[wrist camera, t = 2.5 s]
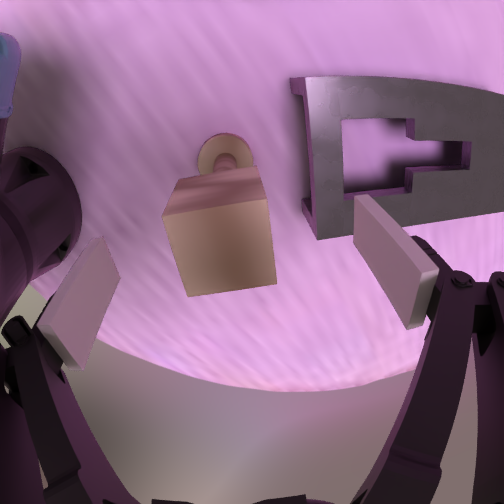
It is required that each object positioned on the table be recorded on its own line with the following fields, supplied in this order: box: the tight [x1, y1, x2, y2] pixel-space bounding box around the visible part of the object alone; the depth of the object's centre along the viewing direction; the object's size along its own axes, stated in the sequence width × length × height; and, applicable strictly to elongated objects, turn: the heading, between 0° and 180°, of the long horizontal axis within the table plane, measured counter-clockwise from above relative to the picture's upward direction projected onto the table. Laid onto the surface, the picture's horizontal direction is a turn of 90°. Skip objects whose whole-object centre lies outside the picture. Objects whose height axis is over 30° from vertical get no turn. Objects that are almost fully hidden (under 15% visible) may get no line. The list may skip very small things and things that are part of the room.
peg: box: [162, 133, 277, 297], centre depth 21 cm, size 5×5×17 cm
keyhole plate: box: [290, 76, 504, 240], centre depth 25 cm, size 26×14×6 cm, turn 98°
